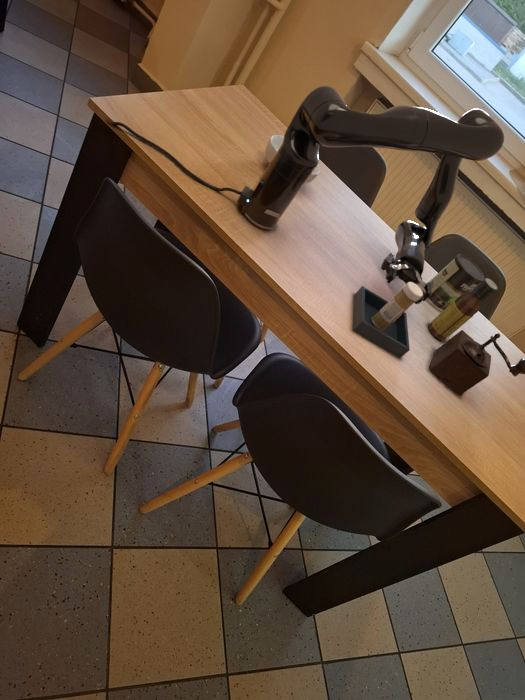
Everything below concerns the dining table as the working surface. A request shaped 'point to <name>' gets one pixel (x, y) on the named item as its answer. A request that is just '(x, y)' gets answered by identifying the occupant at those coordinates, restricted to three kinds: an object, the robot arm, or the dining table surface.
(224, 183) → the dining table surface
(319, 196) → the dining table surface
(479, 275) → the coffee can
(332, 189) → the dining table surface
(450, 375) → the manual coffee grinder
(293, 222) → the dining table surface
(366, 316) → the tray
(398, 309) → the sprinkles bottle
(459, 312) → the sauce bottle
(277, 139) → the cereal bowl
